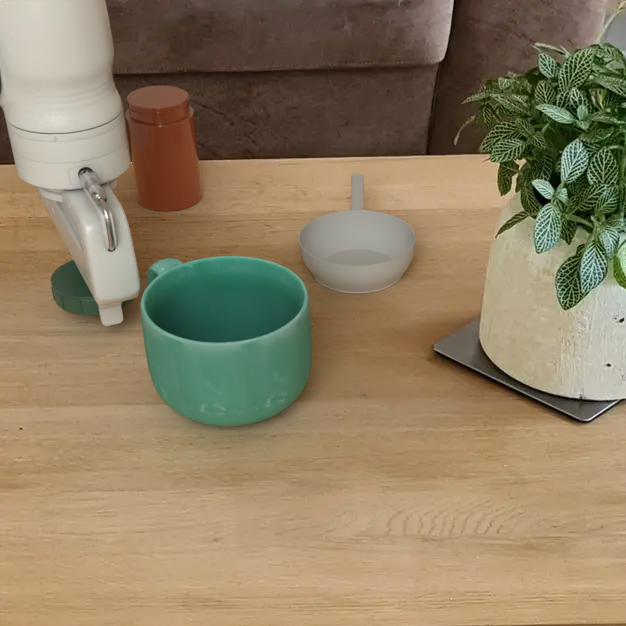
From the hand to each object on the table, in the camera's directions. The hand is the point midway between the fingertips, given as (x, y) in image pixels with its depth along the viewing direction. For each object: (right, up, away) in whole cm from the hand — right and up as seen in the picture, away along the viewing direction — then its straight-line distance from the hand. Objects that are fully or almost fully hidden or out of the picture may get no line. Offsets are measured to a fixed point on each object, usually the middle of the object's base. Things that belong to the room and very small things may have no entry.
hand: (98, 297), depth 101 cm
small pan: (+22, +6, +11) cm, 25 cm away
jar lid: (0, +2, -1) cm, 2 cm away
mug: (+12, -8, -7) cm, 16 cm away
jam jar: (+2, +13, +19) cm, 23 cm away
